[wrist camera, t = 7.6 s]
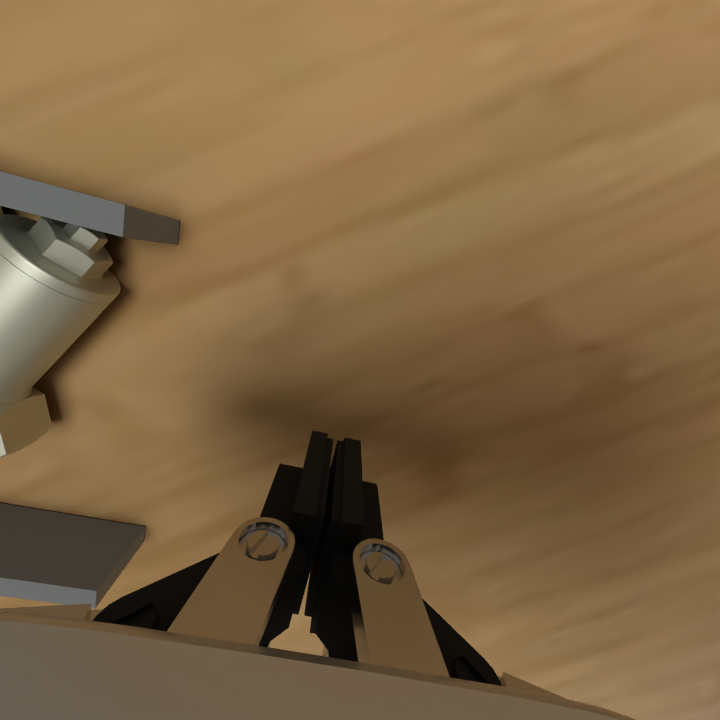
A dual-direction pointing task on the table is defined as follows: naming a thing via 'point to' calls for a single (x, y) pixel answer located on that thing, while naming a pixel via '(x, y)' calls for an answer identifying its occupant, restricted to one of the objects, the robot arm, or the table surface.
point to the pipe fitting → (43, 312)
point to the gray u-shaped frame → (52, 529)
